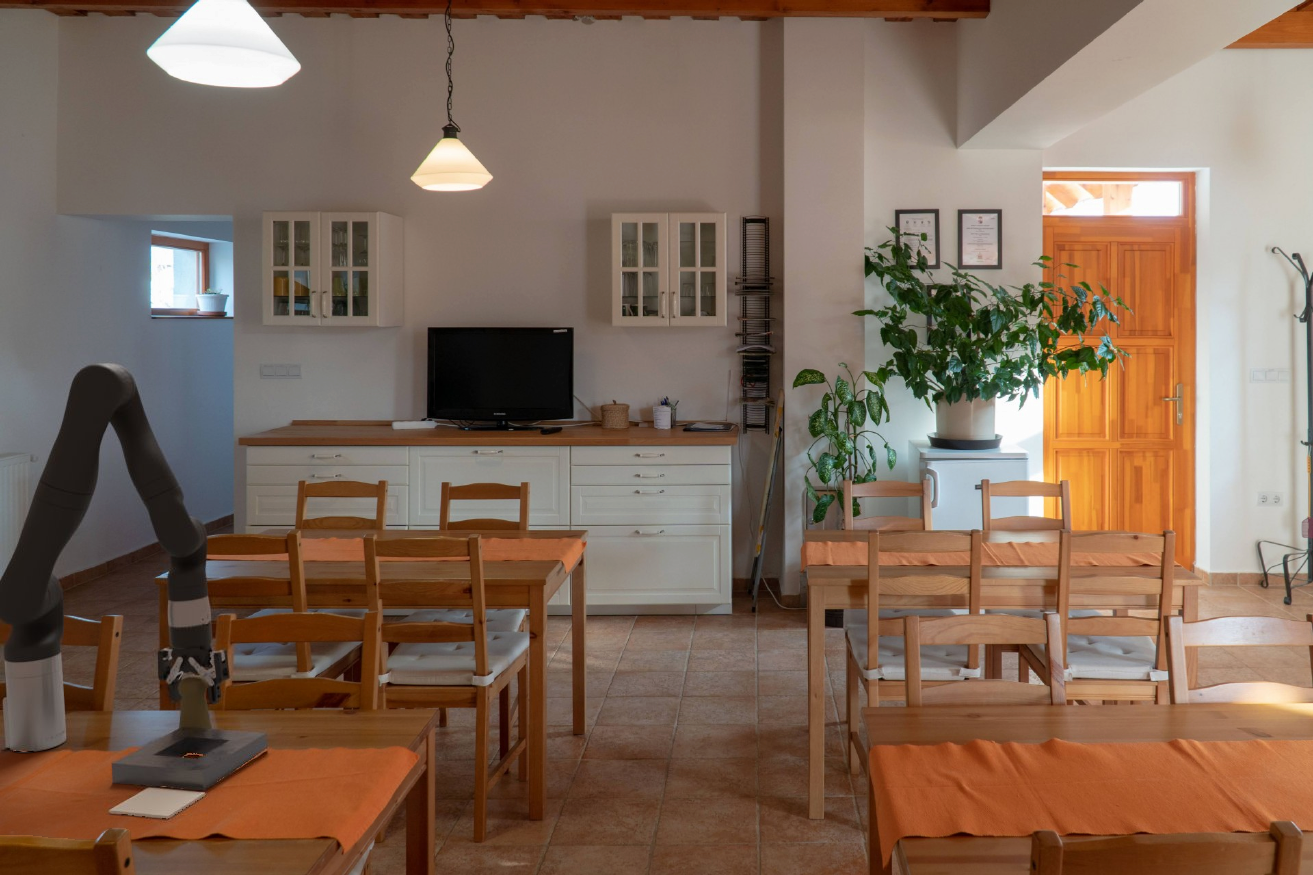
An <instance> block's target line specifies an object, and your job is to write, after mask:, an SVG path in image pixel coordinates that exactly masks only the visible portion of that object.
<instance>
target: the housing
mask: <svg viewBox="0 0 1313 875" xmlns="http://www.w3.org/2000/svg"><path fill="white" fill-rule="evenodd" d="M265 749H268V733H267V732H261V731H260V732H259V731H257V732H256V731H247V730H246V731H245V730H232V729H231V730H229V729H217V728H212V729H207V728H193V727H181V728H179V727H178V728H177V729H174V730H173V731H171V732H170V733H168V734H166V735H163V736H162V737H159V738H158V739H156V740H154V741H152V742H150V743H148V744H146V745H144V746H143V747H140V748H138V749H137V750H134V751H132V752H130V753H129V754H127V755H124V756H123V757H121V758H119V759H117V760H115V761H112V762H111V776H112V778H111V779H112V784H120V785H121V784H122V785H130V784H134V785H133V786H141V785H146V786H145V787H152V786H166V787H173V788H172V789H174V788H183V789H182V790H185V789H191V790H190V791H196V790H205V791H207V790H208V789H209V787H210V786H211V787H213V786H214V785H216V784H217V783H216V782H217V781H219V780H220V779H222V778H223V777H225V776H227V775H229V774H230V773H232V772H233V771H235V770H236V769H237V768H239V767H241V766H242V765H243V764H245V763H246V762H248V761H249V760H251V759H252V758H254V757H255V756H256V755H258V754H259V753H261V752H262V751H264V750H265ZM187 753H192V754H193V753H195V754H196V753H197V754H203V756H199V757H198V758H194V757H193V758H191V757H184V758H182V757H183V756H184V755H186V754H187ZM235 772H236V771H235ZM232 774H233V773H232ZM230 775H231V774H230ZM230 775H229V776H230ZM227 777H228V776H227ZM222 780H223V779H222ZM219 782H220V781H219ZM215 783H216V784H215ZM213 784H214V785H213ZM212 785H213V786H212ZM211 787H210V788H211ZM207 788H208V789H207Z"/></svg>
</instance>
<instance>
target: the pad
mask: <svg viewBox="0 0 1313 875" xmlns="http://www.w3.org/2000/svg"><path fill="white" fill-rule="evenodd" d="M205 795H206V792H205V791H194V790H183V789H172V788H161V787H147V788H145V789H143V790H142V791H140V792H138V793H137V794H135V795H133V796H132V797H130V798H128V799H126V800H125V801H122V802H120V803H119V804H118V805H116V806H113V808H112V807H111V809H109V810H108V814H113V815H121V814H128V815H127V816H132V815H134V817H142V816H145V817H144V818H153V819H162V818H166V819H165V820H169V819H171V818H172V817H174V816H176V815H177V814H179V813H180V812H182V811H183V810H185V809H186V807H187V808H188V807H190V806H191V805H193V804H194V803H196V802H198V801H200V800H201V799H203V798H205V797H206V796H205ZM202 797H203V798H202ZM197 800H198V801H197ZM195 801H196V802H195ZM189 805H190V806H189ZM182 809H183V810H182ZM178 812H179V813H178ZM175 814H176V815H175ZM168 818H169V819H168Z"/></svg>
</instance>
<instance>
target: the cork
mask: <svg viewBox="0 0 1313 875" xmlns="http://www.w3.org/2000/svg"><path fill="white" fill-rule="evenodd" d="M179 681H180V683H179V686H178V691H179V693H180V695H181V696H182V699H181V700H180V701H181V702H180V711H179V713H180V714H179V724H178V729H179V728H181V727H193V728H207V729H213V728H212V723H211V722H212V721H211V718H210V713H209V708H208V704H207V703H208V702H207V698H206V691H207V689H208V686H209V684H208V682H207V681H206V680H205V678H203V677H201V676H200V675H195V676H187V677H185V678H182V679H181V680H179Z"/></svg>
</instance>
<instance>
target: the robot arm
mask: <svg viewBox="0 0 1313 875" xmlns="http://www.w3.org/2000/svg"><path fill="white" fill-rule="evenodd" d="M109 424H110V425H111V427H112V429H113V431H114V432H115V434H116V436H117V438H118V441H119V444H120V446H121V449H122V450H121V451H122V453H123V457H124V461H125V465H126V468H127V471H128V474H129V478H130V480H131V481H132V483H133V484H132V485H133V486H134V487H135V490H136V492H137V493H138V496H139V498H140V500H141V501H142V502H143V505H144V506H145V508H146V510H147V512H148V516H149V518H150V519H149V520H150V523H151V525H152V528H153V530H154V533H155V536H156V538H157V541H158V543H159V544H160V546H161V548H162V549H163V550H164V551H165V552H166V553H167V554H168V555H169V556H170V559H169V560H170V567H169V571H168V573H167V576H166V577H167V578H166V585H167V586H166V587H167V589H166V591H167V599H168V600H167V602H168V603H167V621H168V636H169V645H170V647H169V646H167V647H165V648H163V649H160V650H158V651H157V677H158V680H159V681H165V682H166V683H167V684H168V697H169V699H170V701H171V703H178V702H180V701H181V700H182V696H181V695H180V693H179V691H178V686H179V683H180V681H181V680H180V679H181V677H182V676H183V674H188V673H192V674H198V675H199V676H201V677H203V678H205V680H206V681H207V685H208V686H207V689H208V703H209V705H216V704H217V703H219V702H220V701H221V698H222V688H221V683H223V682H225V681H228V680H229V679H230V668H229V667H230V666H229V660H228V659H229V658H228V651H227V650H226V649H225V648H223V649H220V650H213V649H212V646H211V645H212V641H213V631H212V630H213V629H212V616H211V614H212V613H211V604H210V600H209V592H208V591H209V590H208V579H207V568H206V567H207V558H208V557H207V556H208V533H207V530H206V526H205V525H204V523H203V522H202V521H201V520H200V519H198V518H197V517H194V516H191V515H189V512H188V510H187V509H186V506H185V504H184V500H185V499H184V498H185V497H184V492H183V490H182V488H181V486H180V484H179V482H178V480H177V478H176V476H175V474H174V472H173V471H172V469H171V467H170V465H169V463H168V461H167V459H166V457H165V455H164V453H163V451H162V449H161V447H160V445H159V443H158V441H157V438H156V436H155V435H154V432H153V430H152V427H151V425H150V422H149V419H148V417H147V414H146V412H145V409H144V405H143V401H142V399H141V395H140V393H139V389H138V386H137V383H136V381H135V378H134V376H133V374H132V373H131V371H129V370H128V369H127V368H126V367H124V366H122V365H120V364H117V363H113V362H106V363H105V362H104V363H103V362H101V363H99V362H98V363H92V364H89V365H86V366H85V367H82V368H81V369H80V370H79V371H78V372H77V373H76V374H75V376H74V377H73V379H72V382H71V384H70V387H69V392H68V397H67V400H66V405H65V410H64V413H63V417H62V422H61V425H60V427H59V428H60V429H59V432H58V434H57V437H56V439H55V440H54V443H53V446H52V448H51V450H50V452H49V456H48V458H47V461H46V464H45V466H44V468H43V471H42V473H41V476H40V478H39V481H38V483H37V486H36V489H35V491H34V494H33V497H32V501H31V504H30V507H29V510H28V512H27V515H26V518H25V521H24V523H23V526H22V529H21V531H20V532H21V533H20V536H19V538H18V542H17V544H16V547H15V549H14V552H13V554H12V555H11V558H10V559H9V563H8V564H7V566H6V568H5V570H4V572H3V574H2V576H1V578H0V621H1V622H2V623H4V624H6V625H8V626H11V630H10V634H9V637H8V639H7V640H6V642H5V644H4V646H3V658H4V659H3V660H4V671H5V674H4V675H5V686H6V688H5V689H6V697H4V698H3V699H2V712H3V724H4V725H3V726H4V740H5V748H8V749H10V750H11V751H12V750H16V751H20V750H21V751H34V752H39V751H44V750H49V749H51V748H52V749H53V748H54V747H57V746H60V745H61V744H63V743H65V742H66V740H67V728H66V727H67V726H66V713H65V712H66V710H65V709H66V708H65V696H64V680H63V679H64V678H63V663H62V648H61V647H62V640H63V636H64V632H65V614H64V613H65V612H64V611H65V609H64V608H65V607H64V606H65V605H64V604H65V603H64V593H63V587H62V584H61V582H60V581H59V579H58V578H57V576H56V575H55V574H54V573H53V571H54V568H55V565H56V563H57V560H58V559H59V557H60V555H61V554H62V552H63V550H64V549H65V547H66V546H67V544H68V543H69V542H70V540H71V538H72V537H73V535H74V534H75V532H77V530H78V529H79V527H80V526H81V524H82V522H83V520H84V518H85V516H86V514H87V512H88V510H89V507H90V505H91V502H92V498H93V496H94V493H95V490H96V488H97V483H98V479H99V468H100V451H101V444H102V440H103V438H104V435H105V432H106V430H107V428H108V426H109ZM172 661H174V662H175V663H174V664H173V662H172Z"/></svg>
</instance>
